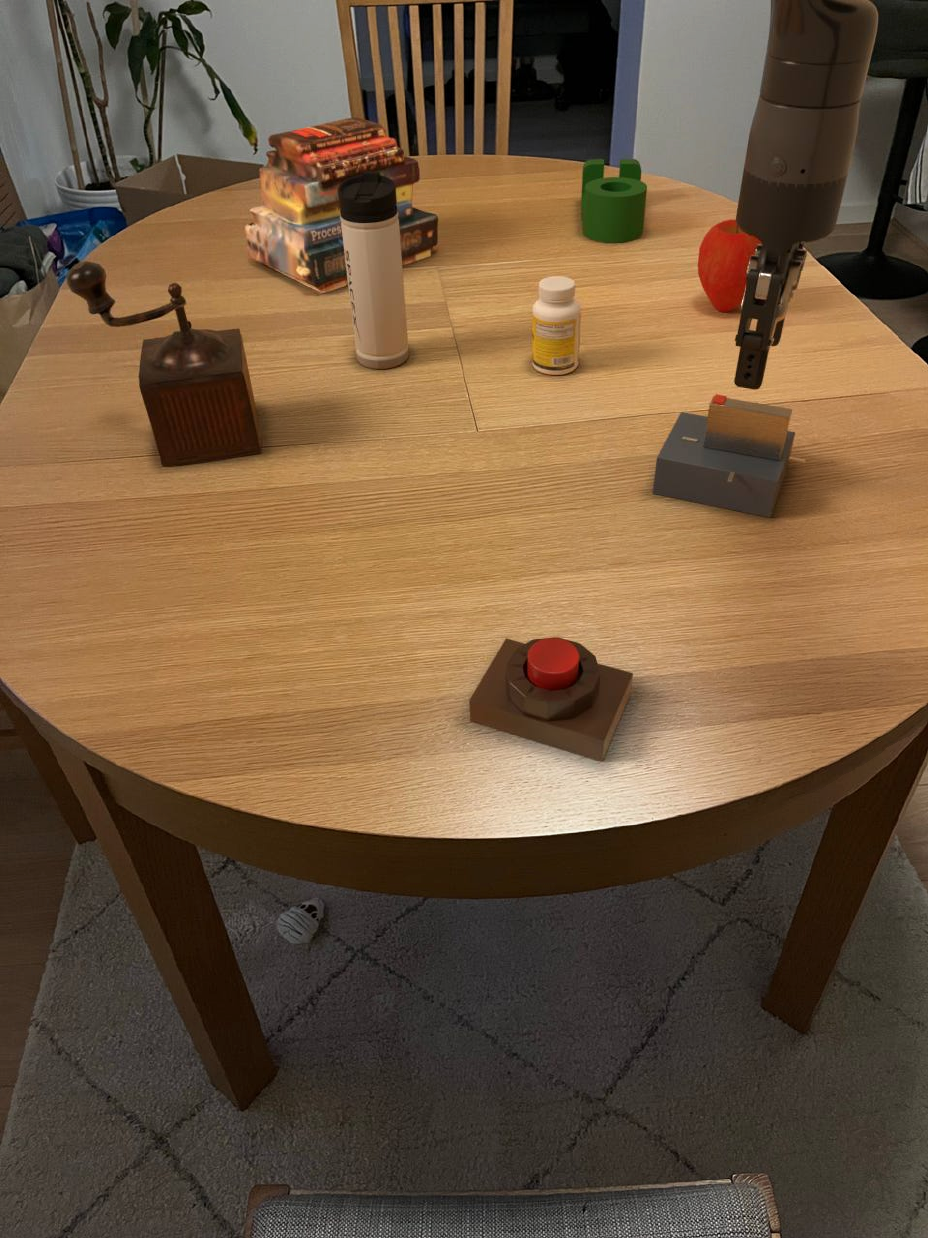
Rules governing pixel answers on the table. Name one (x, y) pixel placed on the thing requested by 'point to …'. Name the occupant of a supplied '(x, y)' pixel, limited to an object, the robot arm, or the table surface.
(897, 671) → the table surface
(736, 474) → the grey slotted base
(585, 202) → the slotted cylinder bracket
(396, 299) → the travel mug
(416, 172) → the book
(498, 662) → the button block
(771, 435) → the red-tipped tan bar
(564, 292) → the supplement bottle
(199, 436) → the manual coffee grinder
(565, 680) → the red push button
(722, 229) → the apple
